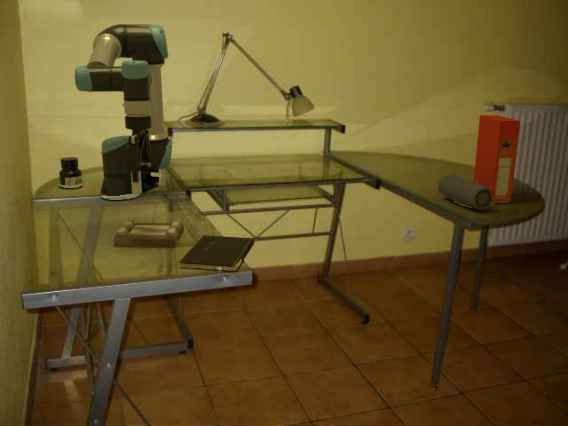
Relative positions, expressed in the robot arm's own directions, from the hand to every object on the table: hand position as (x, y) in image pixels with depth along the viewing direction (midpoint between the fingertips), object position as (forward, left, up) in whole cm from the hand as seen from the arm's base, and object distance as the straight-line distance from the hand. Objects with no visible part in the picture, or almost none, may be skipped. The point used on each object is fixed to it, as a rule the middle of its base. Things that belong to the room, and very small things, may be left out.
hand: (142, 188), depth 177 cm
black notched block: (0, 0, 0) cm, 0 cm away
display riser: (0, +2, -16) cm, 16 cm away
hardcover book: (+14, +24, -17) cm, 33 cm away
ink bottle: (-64, -46, -16) cm, 80 cm away
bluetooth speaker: (-44, +112, -16) cm, 121 cm away
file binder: (-54, +126, -16) cm, 138 cm away
